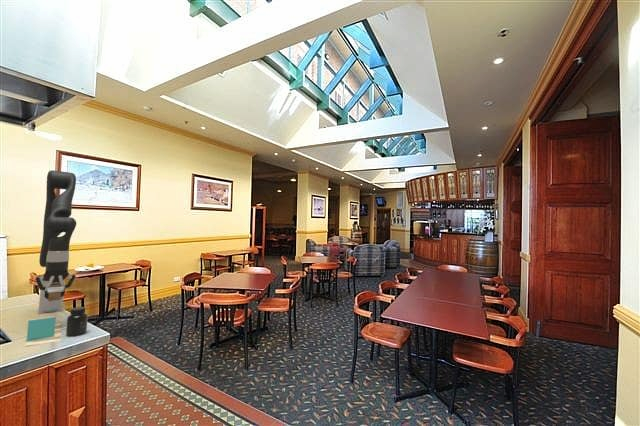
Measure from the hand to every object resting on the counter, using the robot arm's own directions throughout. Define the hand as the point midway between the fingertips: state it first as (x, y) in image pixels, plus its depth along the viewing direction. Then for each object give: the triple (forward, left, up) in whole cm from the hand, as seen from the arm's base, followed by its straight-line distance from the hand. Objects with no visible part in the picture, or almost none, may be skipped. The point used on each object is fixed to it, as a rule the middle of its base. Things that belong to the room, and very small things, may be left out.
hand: (54, 297), depth 128 cm
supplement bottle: (+16, +8, -14) cm, 23 cm away
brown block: (+4, 0, -1) cm, 4 cm away
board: (+8, -2, -14) cm, 17 cm away
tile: (+14, -3, -13) cm, 19 cm away
